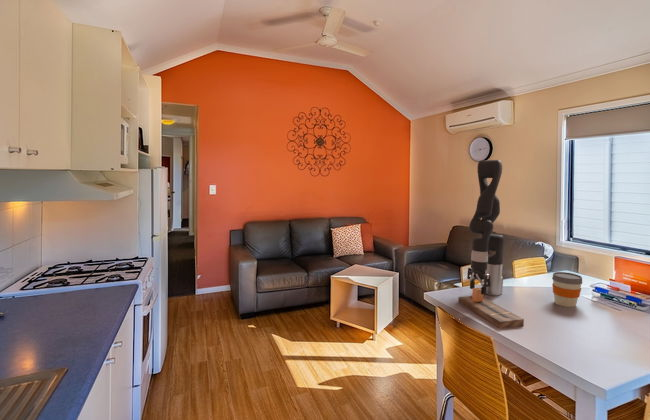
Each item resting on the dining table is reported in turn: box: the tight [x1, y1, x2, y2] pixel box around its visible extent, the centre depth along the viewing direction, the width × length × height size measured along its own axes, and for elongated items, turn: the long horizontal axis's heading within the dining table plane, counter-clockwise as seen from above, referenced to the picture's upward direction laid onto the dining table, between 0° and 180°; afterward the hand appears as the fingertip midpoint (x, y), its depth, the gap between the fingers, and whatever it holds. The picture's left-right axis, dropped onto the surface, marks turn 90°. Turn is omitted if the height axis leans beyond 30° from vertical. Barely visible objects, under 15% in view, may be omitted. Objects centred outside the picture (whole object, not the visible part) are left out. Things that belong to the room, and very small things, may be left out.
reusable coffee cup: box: [551, 271, 583, 308], centre depth 172 cm, size 12×13×15 cm
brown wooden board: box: [457, 295, 525, 329], centre depth 161 cm, size 12×30×3 cm, turn 12°
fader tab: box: [471, 287, 484, 302], centre depth 168 cm, size 4×3×6 cm
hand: (477, 291), depth 168 cm, fingers open, 8 cm apart
